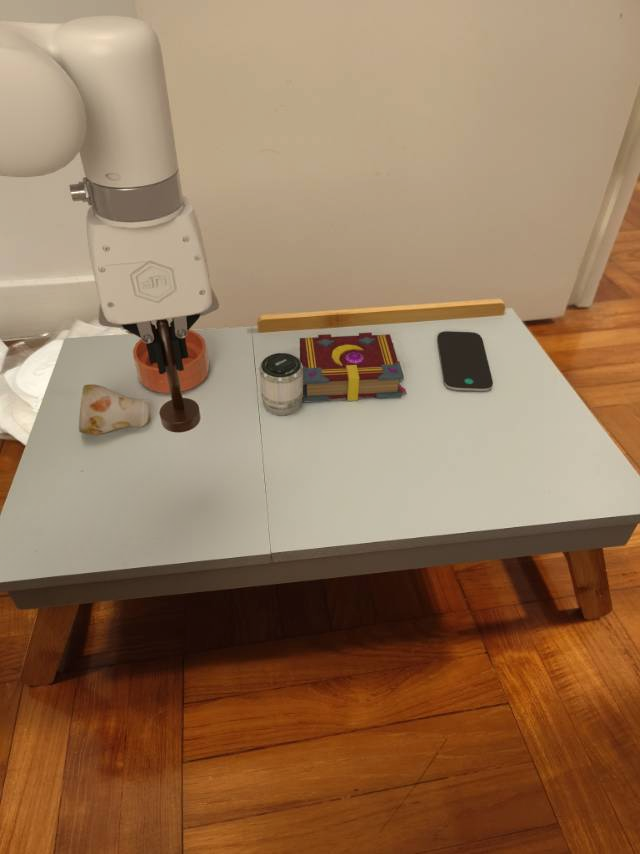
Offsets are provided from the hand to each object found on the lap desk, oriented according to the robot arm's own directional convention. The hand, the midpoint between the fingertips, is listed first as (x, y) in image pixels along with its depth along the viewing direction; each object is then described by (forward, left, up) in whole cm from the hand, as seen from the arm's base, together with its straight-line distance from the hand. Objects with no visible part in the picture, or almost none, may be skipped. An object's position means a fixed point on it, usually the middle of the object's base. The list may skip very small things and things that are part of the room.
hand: (170, 363), depth 65 cm
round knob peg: (0, 0, -8) cm, 8 cm away
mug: (-9, +17, -22) cm, 29 cm away
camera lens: (+15, +15, -22) cm, 31 cm away
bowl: (0, +27, -22) cm, 34 cm away
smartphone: (+46, +17, -22) cm, 54 cm away
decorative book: (+27, +18, -22) cm, 39 cm away
